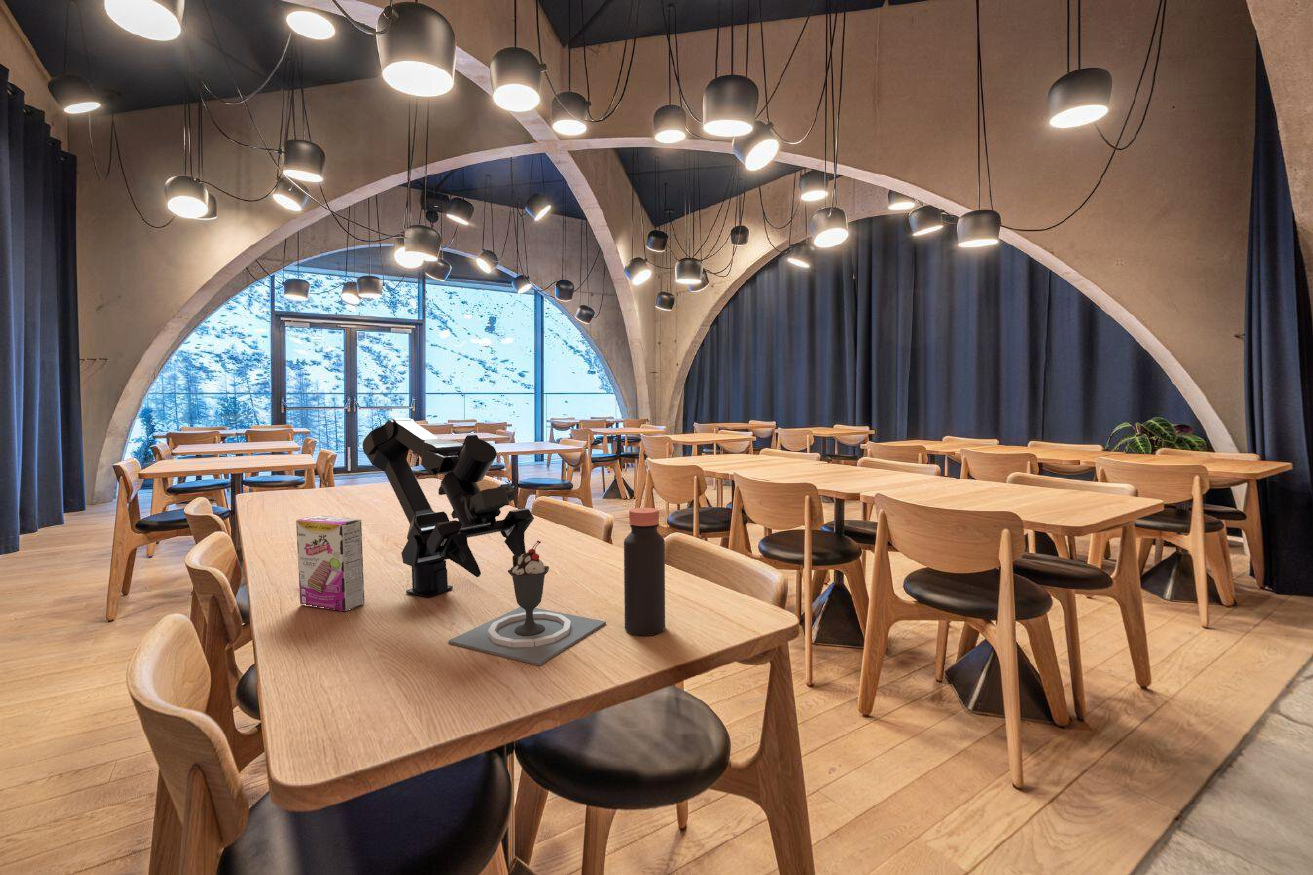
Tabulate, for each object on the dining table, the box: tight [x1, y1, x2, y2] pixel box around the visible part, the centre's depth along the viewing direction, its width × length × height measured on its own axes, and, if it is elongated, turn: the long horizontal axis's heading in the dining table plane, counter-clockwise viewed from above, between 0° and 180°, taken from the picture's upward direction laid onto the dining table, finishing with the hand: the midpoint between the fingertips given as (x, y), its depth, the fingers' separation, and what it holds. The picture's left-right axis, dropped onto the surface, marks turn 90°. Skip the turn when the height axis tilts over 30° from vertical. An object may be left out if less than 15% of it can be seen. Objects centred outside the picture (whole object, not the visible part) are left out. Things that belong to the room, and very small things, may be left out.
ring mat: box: [447, 606, 607, 666], centre depth 98 cm, size 18×18×1 cm
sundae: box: [507, 540, 550, 636], centre depth 98 cm, size 7×7×15 cm
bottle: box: [623, 507, 666, 637], centre depth 99 cm, size 7×7×20 cm
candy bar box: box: [295, 515, 365, 612], centre depth 112 cm, size 11×5×16 cm, turn 71°
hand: (502, 569), depth 103 cm, fingers open, 9 cm apart
